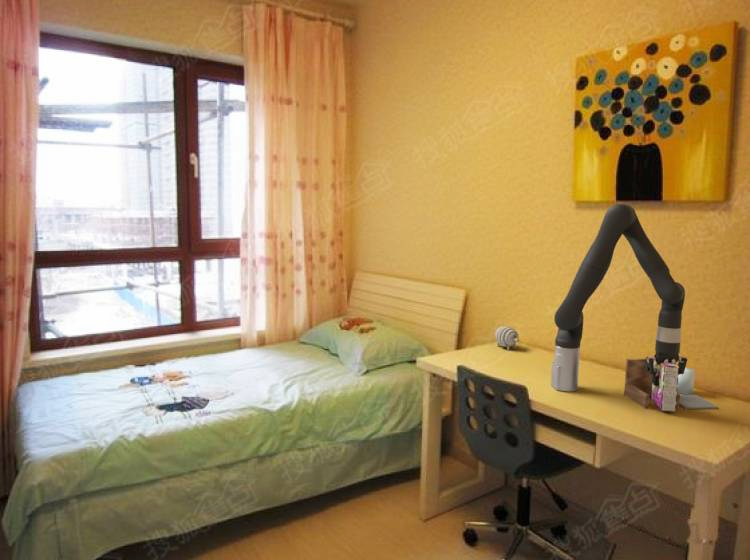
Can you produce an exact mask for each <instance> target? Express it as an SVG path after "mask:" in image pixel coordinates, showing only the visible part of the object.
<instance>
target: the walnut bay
mask: <svg viewBox="0 0 750 560" xmlns="http://www.w3.org/2000/svg"><path fill="white" fill-rule="evenodd" d="M625 365H626V366H625V375H624V376H625V377H624V378H625V379H624V390H623V394H624V396H625V397H627V398H629V400H630V399H631V400H632V401H633V402H634V403H635V404H637V405H639V406H640V407H641V408H643V409H645V410H647V409H649V404H650V403H649V402H650V396H651V394H652V376H653V375H652V374H650V373H648V372H647V365H646V358H626V364H625ZM680 395H681V394H678V393H677V400H676V409H679V408H680V406H679V401H680Z"/></svg>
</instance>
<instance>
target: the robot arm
mask: <svg viewBox="0 0 750 560" xmlns="http://www.w3.org/2000/svg"><path fill="white" fill-rule="evenodd" d="M640 222H641V221H640V220H639V217H638V215H637V213H636V210H635V209H634V207H632V206H631V205H629V204H626V203H616V204H614V205H612V206H610V207H609V208H608V209H607V210H606V212H605V214H604V216H603V220H602V221H601V224H600V227H599V230H598V233H597V235H596V237H595V239H594V241H593V242H592V244H591V245H590V247H589V249H588V250H587V253H586V254H585V256H584V258H583V259H582V262H581V264H580V266H579V268H578V270H577V272H576V273H575V276H574V279H573V280H572V282H571V285H570V288H569V290H568V292H567V294H566V296H565V298H564V300H563V301H562V303H561V304H560V305H559V307H558V308H557V310H556V311H555V314H554V319H553V320H554V325H555V326H556V327H557V328H558V329H557V333H556V336H555V339H554V356H553V357H554V358H553V359H554V361H553V362H551V377H550V379H551V380H550V386H551V387H552V388H553V389H555V390H556V391H562V392H575V391H577V390H578V387H579V386H578V385H579V370H580V355H581V353H580V351H581V341H582V338H583V332H584V331H583V330H584V313H583V310H584V308H585V307H586V306H585V305H586V304H587V302H588V300H589V299H590V298H591V297H592V295H593V294H594V293H595V291H596V290H597V289H598V287H599V286H600V285H601V283H602V282H603V280H604V278H605V276H606V274H607V272H608V270H609V268H610V266H611V263H612V260H613V256H614V252H615V248H616V246H617V244H618V242H619V240H620V239H621V237H622V236H624V238H625V239H626V240H627V242H628V243H629V245H630V247H631V249H632V252H633V253H634V256H635V258H636V260H637V261H638V263H639V265H640V267H641V268H642V270H643V271H644V273H645V275H646V276H647V278H649V280H650V282H651V285H652V287H653V289H654V290H655V292H656V294H657V296H658V297H659V299H660V300H661V308H660V310H659V313H658V317H657V319H658V320H657V328H656V331H655V332H656V333H655V347H654V351H655V353H654V356H651V357H650V356H646V357H645V359H646V365H647V372H648V373H650V374H652V375H653V376H652V383H653V385H655V386H659V375H660V370H661V366H660V367H658V365H660V364H661V363H667V362H671V363H675V364H676V365H677V366H678V367H679V373H678V375H680V374H684V371H685V367H687V363H688V357H685V356H683V355H681V356H680V352H681V351H680V350H681V343H682V341H681V340H682V320H683V319H682V318H683V317H682V314H683V308H684V304H685V297H686V290H685V289H686V288H685V287H684V286H683V285H682V284H681V283H679V282H677V281H675V280H674V278H673V276H672V275H671V273H670V272H671V271H670V268H669V266H668V265H667V263H666V262H665V260H664V259H663V258H662V256H661V255H660V253H659V252H658V250H657V249H656V247H655V246H654V245H653V243H652V241H650V238H648V235H647V234H646V232H645V230H644V228H643V227H642V224H641V223H640ZM654 361H656V363H655V362H654ZM654 363H655V365H654Z"/></svg>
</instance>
